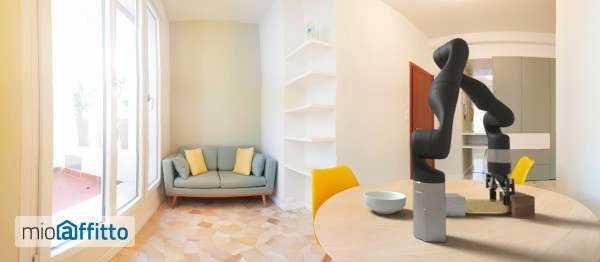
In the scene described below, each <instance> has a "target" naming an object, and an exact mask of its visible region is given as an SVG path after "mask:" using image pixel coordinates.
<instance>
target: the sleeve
mask: <svg viewBox="0 0 600 262" xmlns="http://www.w3.org/2000/svg"><path fill="white" fill-rule="evenodd" d="M445 194H446V217H461V218H462V217H464V218H465V217H466V216H467V215H466V212H465V199H466V196H463V195H461V194H459V193H456V192H455V193H453V192H451V193H450V192H449V193H448V192H445Z"/></svg>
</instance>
